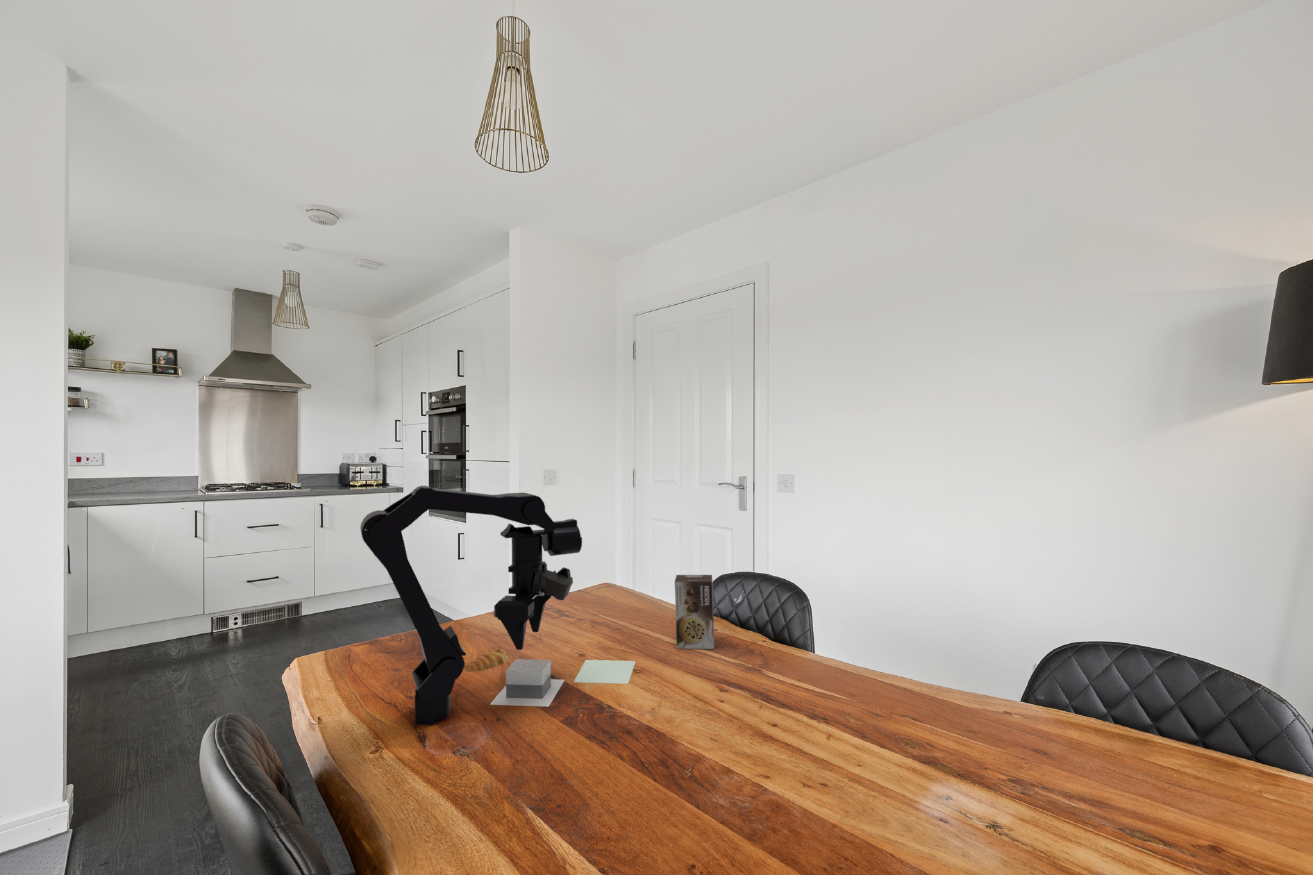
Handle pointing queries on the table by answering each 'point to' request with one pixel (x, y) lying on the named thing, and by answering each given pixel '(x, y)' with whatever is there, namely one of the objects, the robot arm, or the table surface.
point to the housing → (528, 679)
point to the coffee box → (694, 612)
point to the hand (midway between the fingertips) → (528, 640)
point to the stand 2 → (605, 672)
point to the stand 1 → (545, 701)
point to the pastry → (487, 660)
